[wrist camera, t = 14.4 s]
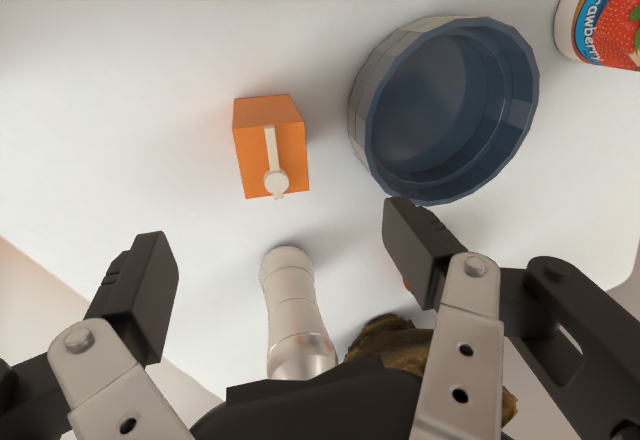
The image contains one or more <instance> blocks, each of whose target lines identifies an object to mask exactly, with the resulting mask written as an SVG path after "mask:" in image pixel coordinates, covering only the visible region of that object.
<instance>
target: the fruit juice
mask: <svg viewBox="0 0 640 440" xmlns="http://www.w3.org/2000/svg"><path fill="white" fill-rule="evenodd" d="M554 38H555V42H556V45H557V47H558V49H559V51H560V52H561V53H562V54H563V55H564V56H566V57H567V58H569V59H571V60H574V61H577V62H581V63H587V64H594V65H600V66H606V67H613V68H619V69H626V70H632V71H639V72H640V0H561V1H560V3H559V6H558V9H557V12H556V16H555V22H554Z"/></svg>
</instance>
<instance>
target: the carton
mask: <svg viewBox="0 0 640 440" xmlns="http://www.w3.org/2000/svg"><path fill="white" fill-rule="evenodd" d="M232 132H233V137H234V142H235V147H236V152H237V158H238V163H239V168H240V173H241V178H242V183H243V188H244V193H245V198H246V199H249V198H256V197H263V196H271V195H273V196H274V199H281V198H283V194H285V193H293V192H300V191H307V190H309V180H308V165H307V151H306V137H305V123H304V120H303V119H302V117H301V115H300V113H299V112H298V110H297V108H296V106H295V105H294V103H293V101H292V99H291V98H290V96H289V94H284V95H274V96H263V97H252V98H241V99H234V109H233V123H232Z"/></svg>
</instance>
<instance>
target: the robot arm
mask: <svg viewBox="0 0 640 440" xmlns="http://www.w3.org/2000/svg"><path fill="white" fill-rule="evenodd" d="M382 238H383V243H384V245H385V248H386V249H387V251H388V253H389V254H390V256H391V258H392V259H393V261H394V263H395V265H396V266H397V268H398V270H399V271H400V273H401V275H402V276H403V278H404V280H405V282H406V283H407V285H408V287H409V288H410V290H411V292H412V294H413V295H414V297H415V299H416V300H417V302H418V304H419V305H420V307H421V309H422V311H425V310H430V309H435V310H436V312H437V313H438V315H437V320H436V324H435V328H434V333H433V337H432V341H431V345H430V350H429V354H428V358H427V363H426V367H425V371H424V375H423V377H421V376H419V375H417V374H415V373H413V372H410V371H408V370H404V369H401V368H396V367H390V366H384V364H383V362H382V359H381V357H380V355H375V356H371V357H366V358H361V359H357V360H352V361H348V362H344V363H342V364H340V365H338V366H336V367H334V368H332V369H330V370H328V371H326V372H324V373H322V374H320V375H318V376H316V377H314V378H312V379H309V380H275V379H265V380H260V381H255V382H251V383H246V384H241V385H237V386H232V387H228V388H227V390H226V401H225V402H223V403H221V404H220V405H218V406H216V407H215V408H213V409H212V410H210V411H209V412H208V413H207V414H205V415H204V416H203V417H202V418H200V419H199V420H198V421H197V422H196V423H195V424H194V425H193V426H192V427H191V428H190V430H188V428H187V427H186V426H185V424H184V423H183V422H182V420H181V419H180V418H179V416H178V415H177V413H176V412H175V411H174V410H173V408H172V407H171V405H170V404H169V403H168V401H167V400H166V398H165V397H164V396H163V394H162V393H161V392H160V391H159V389H158V388H157V386H156V385H155V384H154V382H153V381H152V379H151V378H150V377H149V375H148V374H147V373H146V371H145V367H146V365H151V364H156V363H160V361H161V357H162V352H163V348H164V344H165V339H166V335H167V330H168V326H169V321H170V317H171V312H172V308H173V304H174V299H175V295H176V290H177V286H178V281H179V272H178V267H177V263H176V261H175V258H174V256H173V253H172V251H171V248H170V246H169V243H168V241H167V238H166V236H165V234H164V232H162V231H157V232H150V233H143V234H138V235H137V236H136V238H135V240H134V242H133V245H132V247H131V249H130V250H128V251H123V252H122V253H121V254H120V255H119V256H118V257H117V258H116V259H115V260H114V261H112V263H111V265H110V267H109V269H108V271H107V273H106V276H105V277H104V279H103V281H102V283H101V286H100V287H99V289H98V291H97V293H96V295H95V297H94V299H93V301H92V303H91V305H90V307H89V309H88V311H87V313H86V315H85V317H84V319H83V321H80V322H78V323H75V324H74V325H72V326H70V327H68V328H67V329H66V330H64V331H63V332H61V333H60V334H59V335H58V336H57V337H56V338H55V339H54V341H53V342H52V343H51V345H50V346H49V348H48V351H47V352H46V353H43V354H41V355H38V356H36V357H34V358H31V359H29V360H26V361H24V362H22V363H19V364H17V365H14V366H12V367H10V366H9V365H8V364H7V363H6V362H5V361H4V360H3V359H1V358H0V440H60V438H61V435H62V434H64V433H66V432H68V431H70V430H72V429H73V431H74V433H75V436H76V438H77V440H514V439H512V438H511V437H509V436H508V435H507V434H505V433H504V432H502V431H501V416H502V381H503V346H504V336H506V337H508V338H509V339H510V341H511V342H512V344H513V345H514V346H515V348H516V349H517V351H518V352H519V353H520V355H521V356H522V357H523V359H524V360H525V362H526V363H527V364H528V366H529V367H530V369H531V370H532V371H533V373H534V374H535V375H536V377H537V378H538V380H539V381H540V382H541V384H542V385H543V387H544V388H545V389H546V391H547V392H548V394H549V395H550V396H551V398H552V399H553V400H554V402H555V403H556V405H557V406H558V407H559V409H560V410H561V412H562V413H563V415H564V416H565V417H566V419H567V420H568V421H569V423H570V424H571V426H572V427H573V428H574V430H575V431H576V433H577V434H578V435H579V437H580V438H581V440H640V322H639V321H638V320H637V319H636V318H635V317H633V316H632V315H631V314H630V313H629V312H628V311H626V310H625V309H624V308H623V307H622V306H621V305H619V304H618V303H617V302H616V301H615V300H614V299H612V298H611V297H610V296H609V295H608V294H607V293H605V292H604V291H603V290H602V289H601V288H600V287H598V286H597V285H596V284H595V283H594V282H593V281H592V280H590V279H589V278H588V277H587V276H586V275H585V274H583V273H582V272H581V271H580V270H579V269H578V268H576V267H575V266H573V265H572V264H570V263H568V262H566V261H564V260H561V259H558V258H555V257H549V256H538V257H535V258H532V259H531V260H530V261H529V263H528V265H527V268H526V269H514V268H500V267H499V266H498V265H497V264H496V263H495V262H494V261H493V260H492V259H490V258H489V257H487V256H485V255H482V254H479V253H475V252H468V251H467V250H466V249H465V248H464V246H463V245H462V244H461V243H460V242H459V241H458V240H457V239H456V238H455V237H454V235H453V234H452V233H451V232H450V231H449V230H448V229H446V227H445V226H444V224H443V223H442V222H440V220H439V219H438V218H437V217H436V216H435V215H434V213H433V212H431V211H429V210H427V209H426V208H424V207H422V206H417V207H416V206H415V205H414V204H413V202H412V201H411V200H410V199H409V198H408V197H407V196H406V195H403V196H396V197H390V198H386V199H385V201H384V209H383V223H382ZM560 325H562V326H563V327H564V328H565V329H566V330H567V332H568V333H569V334H570V335H571V336H572V337H573V338H574V339H575V340H576V342H577V343H578V344H579V346H580V347H581V350H582V352H583V355H582V354H581V353H580V352H579V351H578V350H577V348H575V346H574V345H573V344H572V343H571V342H570V341H569V340H568V338H567V337H566V336H565V335H564V334H563V333H562V332H561V331H560V329H559V327H560Z"/></svg>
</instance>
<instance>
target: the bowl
mask: <svg viewBox="0 0 640 440" xmlns="http://www.w3.org/2000/svg"><path fill="white" fill-rule="evenodd" d="M539 75H540V74H539V71H538V67H537V64H536V61H535V57H534V54H533V51H532V48H531V46H530V45H529V44H528V43H527V42H526V41H525V39H524V38H523V37H522V36H521V35H520V34H519V33H518V31H517V30H516V29H515V28H514V27H512V26H510V25H507V24H505V23H502V22H500V21H497V20H495V19H492V18H490V17H480V16H437V17H424V18H421V19H419V20H417V21H415V22H413V23H410V24H408V25H406V26H404V27H401V28H399V29H397V30H396V31H395V32H394V33H393V34H391V35H390V36H389V37H388V38H387V39H386V40H385V41H384V42H382V43H381V44H380V45H379V46H378V47H377V48H376V49H375V50H374V51H373V52H372V54H371V55H370V57H369V58H368V60H367V61H366V63H365V65H364V66H363V68H362V69H361V71H360V73H359V74H358V76H357V78H356V80H355V84H354V87H353V90H352V94H351V97H350V100H349V104H348V134H349V137H350V140H351V143H352V146H353V149H354V152H355V155H356V156H357V157H358V159H359V160H360V161H361V162H362V164H363V165H364V166H365V167H366V169H367V170H368V171H369V172H370V174H371V175H372V176H373V177H374V179H375V180H376V181H377V183H378V184H379V185H380V186H381V188H382V189H383V190H384V191H385V192H386V193H387V194H389V195H391V196H393V197H396V196H403V195H406V196H407V197H408V198H409V199H410V200H411V201H412V202H413V204H414V205H420V206H434V205H440V204H447V203H451V202H454V201H456V200H458V199H461V198H463V197H465V196H468V195H470V194H472V193H474V192H475V191H477V190H478V189H480V188H481V187H482V186H484V185H485V184H486V183H488V182H489V181H491V180H492V179H493V178H495V177H496V176H497V175H498V174H499V173H500V171H501V170H502V169H503V168H504V167H505V166H506V165H507V164H508V163H509V162H510V160H511V159H512V158H513V157H514V156H515V154H516V153H517V151H518V149H519V147H520V146H521V144H522V142H523V141H524V139H525V137H526V135H527V134H528V132H529V130H530V127H531V124H532V121H533V118H534V114H535V111H536V108H537V105H538V101H539Z"/></svg>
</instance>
